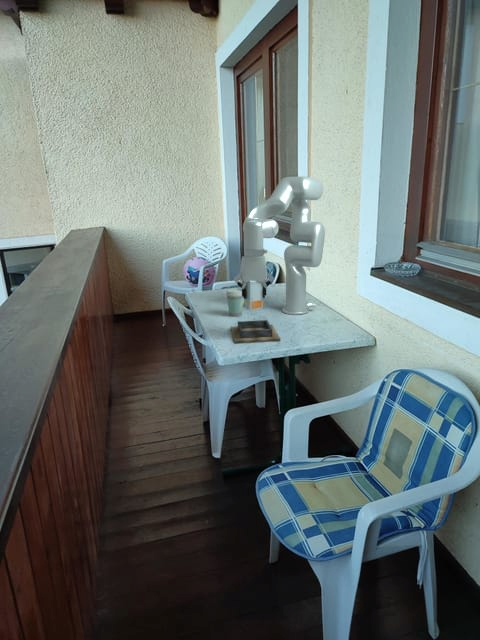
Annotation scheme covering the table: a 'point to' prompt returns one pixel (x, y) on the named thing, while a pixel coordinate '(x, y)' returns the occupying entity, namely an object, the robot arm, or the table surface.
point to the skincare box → (254, 295)
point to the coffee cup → (235, 302)
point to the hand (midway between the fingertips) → (254, 297)
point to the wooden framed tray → (254, 332)
